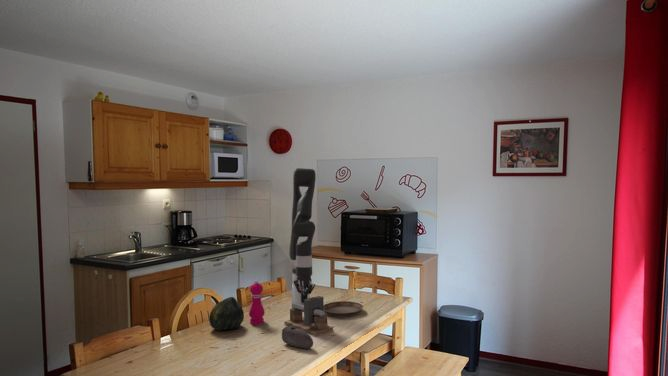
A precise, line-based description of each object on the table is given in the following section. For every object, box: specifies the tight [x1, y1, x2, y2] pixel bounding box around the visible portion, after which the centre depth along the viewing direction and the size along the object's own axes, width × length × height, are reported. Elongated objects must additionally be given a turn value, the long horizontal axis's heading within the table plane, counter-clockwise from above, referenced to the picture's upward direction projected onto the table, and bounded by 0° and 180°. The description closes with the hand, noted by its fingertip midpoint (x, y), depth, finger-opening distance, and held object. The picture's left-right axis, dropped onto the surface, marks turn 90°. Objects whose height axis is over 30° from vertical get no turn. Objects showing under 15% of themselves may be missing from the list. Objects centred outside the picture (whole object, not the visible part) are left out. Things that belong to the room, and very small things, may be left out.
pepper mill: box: [248, 279, 265, 325], centre depth 207 cm, size 7×7×20 cm
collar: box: [303, 295, 325, 325], centre depth 196 cm, size 3×9×10 cm, turn 134°
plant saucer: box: [324, 300, 364, 319], centre depth 221 cm, size 21×21×3 cm
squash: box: [208, 296, 245, 331], centre depth 199 cm, size 14×15×15 cm
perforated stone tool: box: [281, 325, 314, 349], centre depth 176 cm, size 15×5×7 cm, turn 52°
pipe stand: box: [283, 307, 334, 337], centre depth 199 cm, size 22×10×7 cm, turn 44°
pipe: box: [291, 302, 327, 318], centre depth 199 cm, size 20×3×3 cm, turn 44°
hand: (304, 302), depth 201 cm, fingers closed
